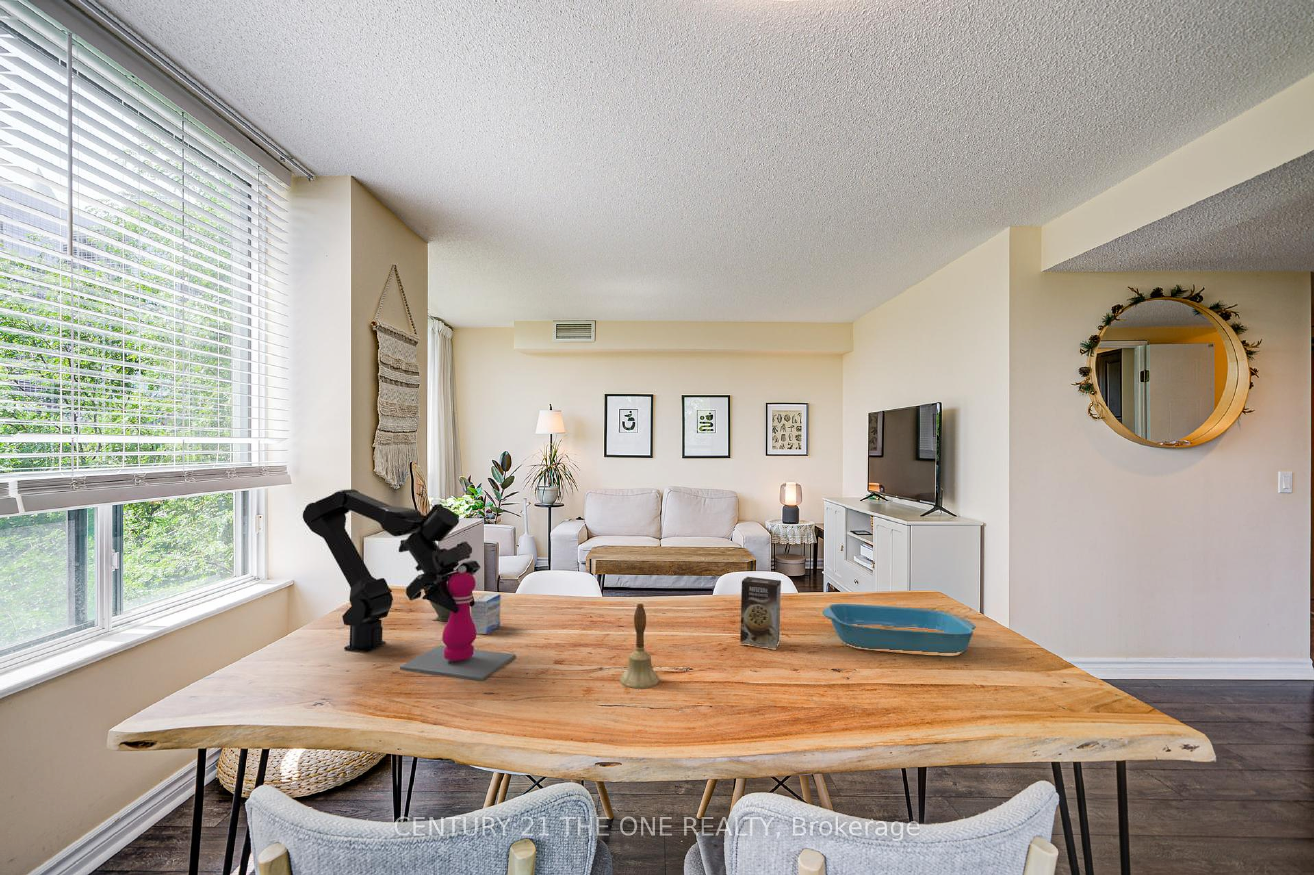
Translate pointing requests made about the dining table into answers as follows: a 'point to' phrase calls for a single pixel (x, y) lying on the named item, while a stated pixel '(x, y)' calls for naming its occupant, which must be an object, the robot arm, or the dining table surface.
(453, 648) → the magenta pepper mill
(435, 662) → the place mat
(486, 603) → the medicine box
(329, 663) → the dining table surface
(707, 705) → the dining table surface
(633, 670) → the hand bell
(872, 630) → the casserole dish
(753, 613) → the coffee box
